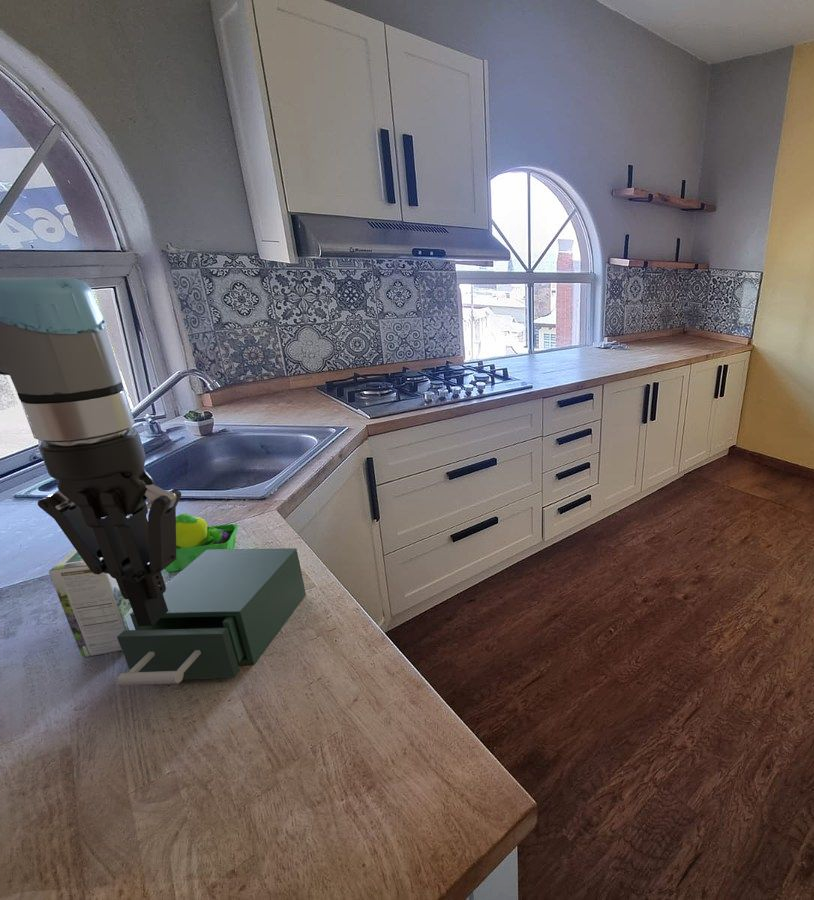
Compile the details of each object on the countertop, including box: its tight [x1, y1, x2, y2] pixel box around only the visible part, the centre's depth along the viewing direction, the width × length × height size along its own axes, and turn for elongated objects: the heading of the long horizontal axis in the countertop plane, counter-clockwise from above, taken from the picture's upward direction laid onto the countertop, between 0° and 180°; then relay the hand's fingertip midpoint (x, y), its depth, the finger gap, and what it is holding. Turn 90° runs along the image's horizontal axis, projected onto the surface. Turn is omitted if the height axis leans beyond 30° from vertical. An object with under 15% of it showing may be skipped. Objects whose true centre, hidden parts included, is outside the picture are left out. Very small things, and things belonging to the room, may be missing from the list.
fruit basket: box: [164, 513, 239, 573], centre depth 89 cm, size 11×9×11 cm
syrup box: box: [48, 548, 135, 658], centre depth 70 cm, size 6×6×14 cm
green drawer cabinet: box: [130, 547, 307, 666], centre depth 74 cm, size 16×14×9 cm
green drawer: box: [116, 616, 245, 686], centre depth 69 cm, size 19×12×7 cm, turn 5°
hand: (153, 618), depth 60 cm, fingers closed
